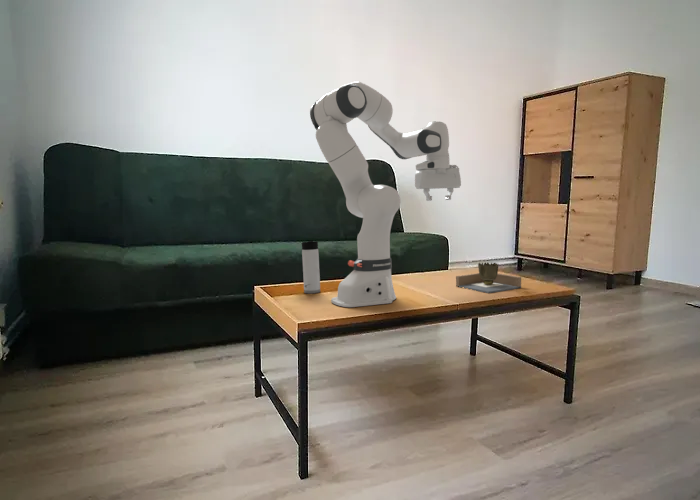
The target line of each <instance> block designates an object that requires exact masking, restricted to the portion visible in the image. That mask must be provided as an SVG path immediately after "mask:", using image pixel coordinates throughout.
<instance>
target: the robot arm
mask: <svg viewBox="0 0 700 500" xmlns="http://www.w3.org/2000/svg"><path fill="white" fill-rule="evenodd" d="M393 111H394V109H393V105H392V103H391V101H390V100H389V99H388V98H387V97H386V96H384V95H383V94H382V93H380V92H379V91H377V90H376V89H374V88H373V87H371V86H369V85H367V84H366V83H363V82H361V81H356V80H355V81H353V82H349V83H347V84H343V85H341V86H340V87H338V88H336V89H333V90H331V91H329V92H327V93H325V94H324V95H323V96H322V97H321V98H319V99H318V100H316V101H315V102H314V103H313V104H312V106H311V107H310V109H309V114H310V115H309V116H310V120H311V122H312V125H313V127H314V129H315V130H316V132H315V139H316V141H317V144H318V146H319V149H320V151H321V152H322V155H323V157H324V158H325V160H326V161H327V163H328V164H329V165H328V166H329V167H330V168H331V170H332V171H333V173H334V175H335V176H336V178H337V179H338V181H339V183H340V186H341V187H342V190H343V193H344V197H345V204H346V208H347V211H348V212H350V213H351V214H352V215H353V216H355V217H358V218H361V219H362V224H361V228H360V231H359V233H357V238H356V243H357V258H356V260H355V261H354V260H351V259H350V260H348V261H347V265H348V266H349V267H352V268H353V270H352V271H351V272H349V274H348V275H347V276H346V277H345V278H343V280H342V281H340V282H339V284H338V287H337V294H336V295H337V296H333V297H331V301H330V302H331V303H332V304H334V305H336V306H339V307H344V308H355V307H367V306H374V305H385V304H392V303H393V301H395V300H396V299H397V295H396V293H395V289H394V288H395V287H394V284H393V278H392V277H393V276H392V270H393V266H392V257H391V246H390V245H391V241H390V240H391V239H390V237H391V229H392V225H393V220H394V218H395V215H396V213H397V212H398V211H399V209H400V206H401V195H400V194H399V192H398V190H397V189H396V188H394V187H392V186H389V185H386V184H373V182H372V180H371V178H370V174H369V163H368V161H367V159H366V158H365V156H364V154H363V153H362V151H361V150H360V148H359V146H358V145H357V143H356V141H355V140H354V138H353V136H352V135H351V133H350V132H349V131H348V126H347V125H348V124H347V123H350V122H351V121H353V120H354V119H356V118H358V119H359V120H360V121H361V122H363V123H364V124H366V125H367V126H368V128H369V130H370V131H371V132H372V133H373V134H374V135H375V136H377V137H378V138H379V139H380V140H381V141H382V142H383V143H385V144H386V145H387V146H388V147H389V148H390V149H391V150H392V152H393V153H394V154H395V156H396V157H397V158H398V159H400V160H407V159H412V158H416V157H422V156H426V157H425V158H426V160H425V161H422V162H420V163H417V164H416V165H415V170H416V172H415V174H414V186H415V188H416V189H417V190H423V191H422V192H423V193H424V196H425V199H426V201H427V202H430V201H432V200H433V196H432V195H431V194H430V190H435V189H446V190H447V194H446V195H445V196H444V197H445V201H451V200H452V195H453V192H454V189H458V188H460V187H461V186H462V181H461V179H462V178H461V174H460V168H459V166H457V164H450V153H449V147H450V136H449V135H450V134H449V129H448V126H447V124H446V123H445V122H442V121H430V122H428V123H427V125H426V126H424V127H422V128H420V129H419V130H414V131H409V132H400V131H398V130H396V129H395V127H393V126H392V125H391V124H390V121H391V120H392V117H393Z"/></svg>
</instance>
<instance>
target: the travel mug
mask: <svg viewBox="0 0 700 500" xmlns="http://www.w3.org/2000/svg"><path fill="white" fill-rule="evenodd" d="M301 255H302V257H301V258H302V259H301V260H302V273H303V274H302V275H303V277H302V278H303V292H304V294H307V295H310V294H319V293H320V292H321V277H320V276H321V275H320V257H319V256H320V255H319V242H318V241H314V240H308V241H303V242H301Z"/></svg>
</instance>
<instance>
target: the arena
mask: <svg viewBox="0 0 700 500" xmlns="http://www.w3.org/2000/svg"><path fill="white" fill-rule="evenodd" d="M483 281H484V280H482V279H481V278H480V275H479V272H477V273H470V274H469V273H468V274H462V275H461V274H460V275H456V276H455V286H459V287H458V288H461V287H464V288H463V289H466V288H468V289H467V290H470V289H472V290H471V291H475V290H476V292H481V293H484V292H485V294H492V293H498V292H505V291H510V290H511V291H512V290H517V289H522V276H517V275H511V274H505V273H504V274H503V273H497V277H496V279H495V280H493V284H492V285H485V284H484V283H483Z"/></svg>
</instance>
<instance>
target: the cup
mask: <svg viewBox="0 0 700 500" xmlns="http://www.w3.org/2000/svg"><path fill="white" fill-rule="evenodd" d="M499 265H500V264H499V263H496V262H484V263H483V262H478V263H477V266H478V273H479V275H480V278H481V279H482V280H484V281H483V283H484V284H485V285H492V284H493V280H495V279H496V277H497V273H498V272H499ZM498 274H499V273H498Z"/></svg>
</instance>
